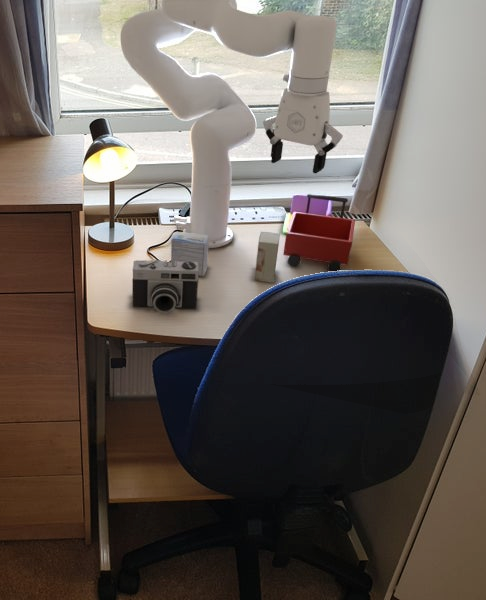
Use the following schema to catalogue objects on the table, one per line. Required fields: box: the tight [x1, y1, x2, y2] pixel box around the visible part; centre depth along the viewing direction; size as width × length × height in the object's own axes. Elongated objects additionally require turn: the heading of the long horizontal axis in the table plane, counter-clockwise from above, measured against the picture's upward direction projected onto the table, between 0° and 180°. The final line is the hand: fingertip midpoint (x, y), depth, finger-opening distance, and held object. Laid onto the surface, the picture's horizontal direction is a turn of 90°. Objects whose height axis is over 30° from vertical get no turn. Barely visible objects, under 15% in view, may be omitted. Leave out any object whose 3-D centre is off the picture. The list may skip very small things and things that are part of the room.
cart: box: [282, 193, 356, 272], centre depth 149 cm, size 14×14×13 cm
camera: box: [131, 259, 199, 314], centre depth 132 cm, size 14×9×10 cm, turn 77°
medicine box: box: [170, 231, 210, 277], centre depth 145 cm, size 8×4×9 cm, turn 71°
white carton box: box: [254, 231, 281, 283], centre depth 142 cm, size 5×4×10 cm
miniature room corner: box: [282, 193, 333, 235], centre depth 163 cm, size 12×12×7 cm
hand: (296, 166), depth 135 cm, fingers open, 9 cm apart
